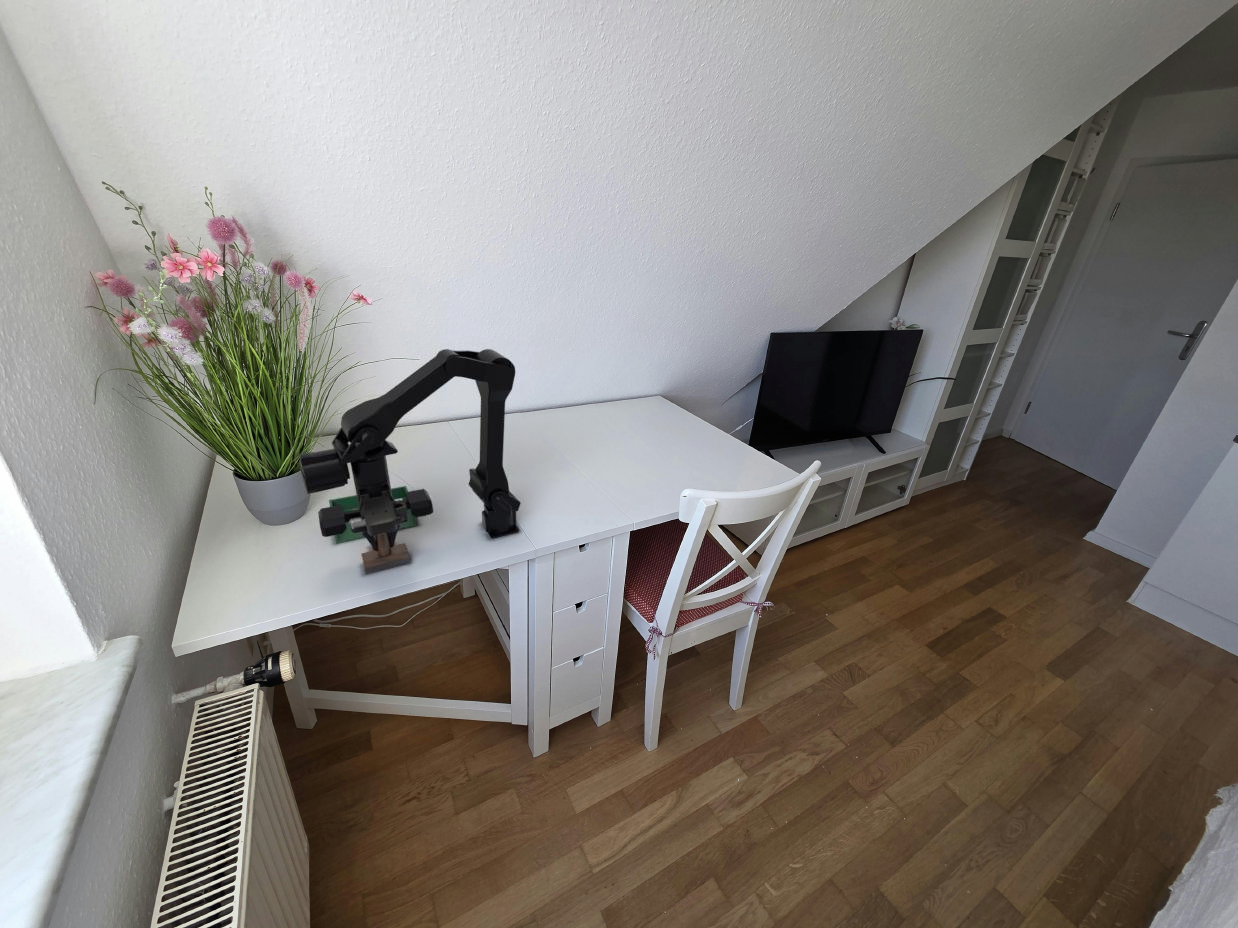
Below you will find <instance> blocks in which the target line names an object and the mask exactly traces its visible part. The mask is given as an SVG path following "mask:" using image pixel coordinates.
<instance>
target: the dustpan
mask: <svg viewBox="0 0 1238 928" xmlns="http://www.w3.org/2000/svg"><path fill="white" fill-rule="evenodd" d="M391 492H392V496H393V498H394V500H395V499H400V498H402V499H403V500H406V496H405V492H409V490H408V487H407V486H406V485H404V486H398V487H391ZM328 502H329V507H332V506H337V505H342V507H343V512H345V511H350V510H354V509H359V504H358V499H357V494H354V495H348V496H343V497H339V498H334V499H329V500H328ZM407 513H408V522H406V523H403V524H401V525H400V527H399V529H398V531H400V530H404V529H408V528H414V527H418V526H419V522H418V517H415V516H413V515H412V513H411V509H408V510H407ZM346 528H347V529H346V530H345V531H344V532H343V534H338V535H334V539H335V544H341V543H345V542H351V541H356V540H360V539H363V538H365V537H364V536H363V535H362V534H360V533H356V534H354V533H352V531H351V526H350V524H349V522H346Z"/></svg>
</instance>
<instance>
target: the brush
mask: <svg viewBox="0 0 1238 928" xmlns="http://www.w3.org/2000/svg"><path fill="white" fill-rule="evenodd" d="M375 539H376V544H377V549H378V551H375V550H374V551H372V550H370V551H365V552H363V553H361V559H362V563H363V568H364V574H365V575H369V574H370V575H371V574H374V573H377V572H382V571H385V570H389V569H393V568H397V567H401V566H405V565H409V564H410V563H411V560H410V554H409V550H408V547H407V546H408V545H407V543H406V542H403V543H399V544H394V546H393V547H391V545H390V538H389V533H388V532H387V533H383V534H379V535H377V536H375Z"/></svg>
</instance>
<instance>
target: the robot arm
mask: <svg viewBox="0 0 1238 928" xmlns="http://www.w3.org/2000/svg"><path fill="white" fill-rule="evenodd" d="M456 377H457V378H464V379H468V380H474V381H475V385H476V387H477V391H478V394H479V396H480V417H479V418H480V420H479V421H480V422H479V462H478V464H477V466H476V467H475V468H469V470H468V473H469V482H468V487H470V489H471V490H472V492H473V493H474V494H475V495H476V496H477V497H478V499H479V500H480V501H481V502H482V503H483V510H481V524H482V525H481V526H482V528H483V530H484V531H485V533H487V535H488V537H489V538H490V539H497V538H501V537H505V536H508V535H513V534H516V533H519V532H520V528H519V527H518V525H517V512H518V511H519V509H520V507H521V501H520V500H519V499H518V498H517V497H516V496H515V495H514V494H513V493H512V492H511V490H510V487H509V486H510V485H509V480H508V476H507V474H506V471H505V468H504V446H505V445H504V443H505V442H504V441H505V421H506V420H505V419H506V401H507V398H509V395H510V394H511V392H512V390H513V386H514V383H515V377H516V366H515V365H514V363H513V362H512V361H511V360H510V359H509V358H508V357H506V356H504V355H502V354H500V353H499V352H498V351H497V350H494V349H489V348H485V349H481V351H475V350H466V349H465V350H453V349H450V348H446V349H445V348H444V349H441V350H439V351H438V353H436V355H435V356H434V357H433V358H430V360H428V361H427V362H426V363H425V364H423V365H422V366H421V367H419V368H418V369H416V370H415V371H414V372H412V373H411V374H410V375H409V376H407V377H406V378H405V379H403V380H402V381H401V382H399V383H398V384H396V385H395V386H393V388H391V389H389V391H387V392H386V393H384V394H382V395H381V396H378V397H376V398H371V399H368V400H364V401H363V402H361V403H359V404H357V405H355V406H353V407H351V408H349V409H348V410H346V411H345V413H343V414H342V416H341V418H340V419H341V420H340V426H341V427H340V428H339V429H338V432H337V433H336V434H335V436H334V438H333V439H332V441H331V445H332V447H333V448H330V449H325V450H320V451H312V452H302V453H299V454H298V458H299V465H300V467H299V470H300V474H301V479H302V482H303V485H304V488H305V492H306V494H307V495H311V494H315V493H320V492H324V491H328V490H333V489H337V488H338V489H339V488H341V487H345V485H349V480H350V479H351V474H350V469H349V465H348V464H350V468H351V473H352V478H353V483H354V488H355V495H357V499H358V504H359V509H354V510H350V511H345V512H343V507H342V505H337V506H332V507H330V506H327V507H321V508H320V510H319V511H318V512H317V514H318V522H319V528H320V533H321V536H322V537H324V538H329V537H333V536H335V535H338V534H343V532H344V531H345V530H346V529H347V528H346V522H349V524H350V526H351V531H352V533H354V534H356V533H360V534H362V535H363V536H364V538H365V539H366V541H368V543H369V545H370V544H371V545H370V547H371V546H372V547H373V548H374V550H375V551H378V549H377V544H376V540H375V537H374V536H377V535H379V534H383V533H387V532H388V533H389V538H390V545H391V547H393V546H395V542H396V539H397V535H398V531H399V530H398V529H399V527H400V525H401V524H403V523H406V522H408V513H407V510H408V509H411V513H412V515H413V516H415V517H417V518H420V517H425V516H431V515H432V514H433V513H434V505H433V502H432V499H431V497H430V494H429V492H428V491H427V490H426V489H425V488H420V489H416V490H415V489H414V490H410V491H409V490H408V492H405V496H406V500H403V499H404V498H403V499H402V498H400V499H395V500H394V498H393V496H392V492H391V489H392V487H391V479H390V474H389V467H388V462H387V456H390V455H396V454H397V453H398V452H399V450H398V449H397V447H396V446H395V445H394V442H392V441H389V440H387V439H388V437H390V436H391V435H392V434H393V432H394V430H395V429H396V427H397V426H398V424H399V422H400V420H401V419H402V418H403V417H404V416H405V415H407V414H408V413H409V412H411V411H412V410H413V409H414V408H416V407H417V406H418V405H420V404H421V403H423V402H424V401H425V400H426V399H428V398H429V397H430V396H431V395H433V394H434V393H436V392H437V391H438V390H440V389H441V388H442V387H444V385H446V384H447V383H449V382H450V381H451V380H453V379H454V378H456Z"/></svg>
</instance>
